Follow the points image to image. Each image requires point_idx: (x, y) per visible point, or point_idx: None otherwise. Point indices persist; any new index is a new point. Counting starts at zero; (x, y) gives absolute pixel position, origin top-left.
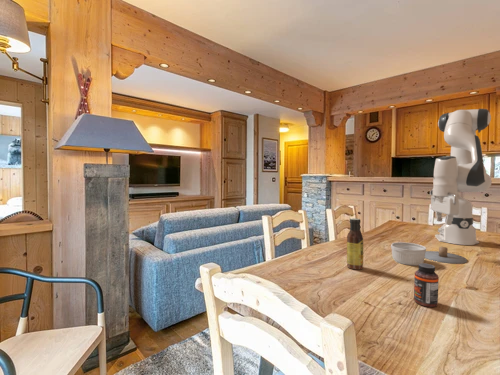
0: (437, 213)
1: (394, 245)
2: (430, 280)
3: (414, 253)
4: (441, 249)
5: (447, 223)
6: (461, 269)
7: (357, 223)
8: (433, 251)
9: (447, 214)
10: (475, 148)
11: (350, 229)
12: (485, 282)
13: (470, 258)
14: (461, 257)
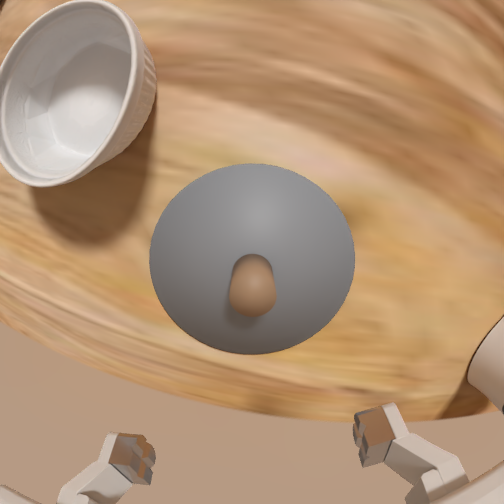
0: (420, 480)
1: (103, 11)
2: None
3: (2, 132)
4: (233, 281)
5: (107, 442)
6: (93, 299)
7: None
8: (346, 243)
9: (23, 496)
10: None
11: None
12: (22, 320)
13: (288, 367)
14: (267, 342)
